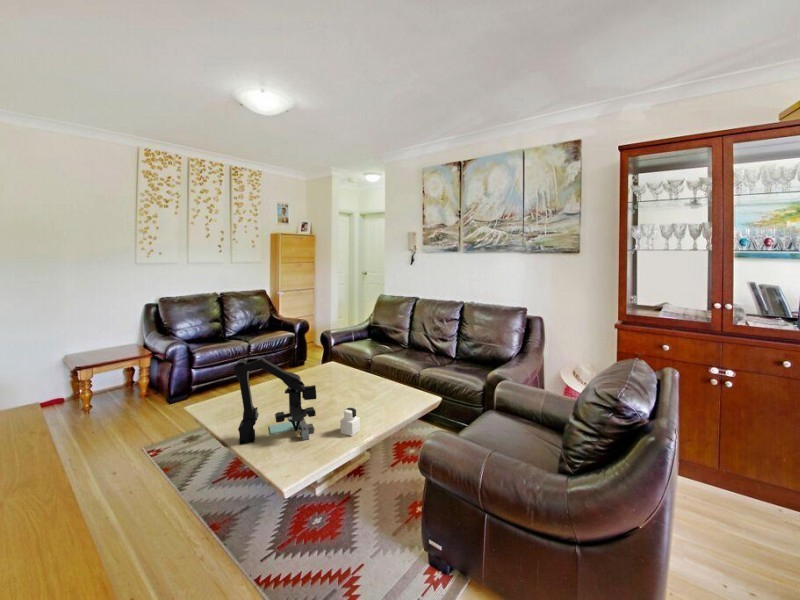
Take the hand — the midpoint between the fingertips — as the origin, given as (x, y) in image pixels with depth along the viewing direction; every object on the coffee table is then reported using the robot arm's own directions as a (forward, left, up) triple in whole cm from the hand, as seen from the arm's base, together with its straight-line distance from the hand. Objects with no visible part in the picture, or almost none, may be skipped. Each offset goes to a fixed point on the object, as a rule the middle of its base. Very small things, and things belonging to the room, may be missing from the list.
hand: (296, 430), depth 181 cm
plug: (+5, 0, -2) cm, 5 cm away
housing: (+4, 0, -2) cm, 4 cm away
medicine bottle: (+26, -8, -2) cm, 27 cm away
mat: (-4, +10, -2) cm, 11 cm away
